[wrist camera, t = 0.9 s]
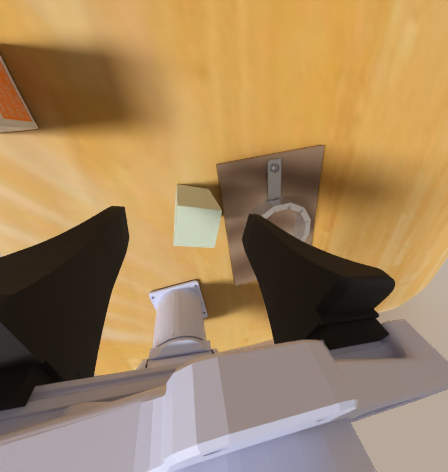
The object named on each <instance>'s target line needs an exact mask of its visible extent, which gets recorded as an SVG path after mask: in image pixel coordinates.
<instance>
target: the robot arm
mask: <svg viewBox="0 0 448 472" xmlns="http://www.w3.org/2000/svg"><path fill="white" fill-rule="evenodd" d="M128 242H129V232H128V225H127V219H126V213H125V207H120V206H111V207H109V208H107V209H105V210H103V211H102V212H100V213H98V214H97V215H95V216H93V217H92V218H90V219H88V220H87V221H85V222H83V223H81V224H79V225H78V226H76V227H74V228H72V229H70V230H68V231H66V232H64V233H62V234H60V235H58V236H56V237H54V238H51V239H49V240H47V241H44V242H42V243H39V244H37V245H34V246H32V247H29V248H26V249H23V250H20V251H18V252H15V253H12V254H9V255H6V256H3V257H0V472H377V471H376V470H375V468H374V466H373V464H372V462H371V460H370V458H369V457H368V455H367V453H366V451H365V449H364V447H363V445H362V444H361V441H360V440H359V438H358V436H357V434H356V432H355V430H354V428H353V427H352V425H351V422H354V421H357V420H360V419H363V418H366V417H369V416H372V415H375V414H378V413H381V412H384V411H387V410H389V409H393V408H395V407H398V406H402V405H405V404H407V403H411V402H414V401H417V400H419V399H422V398H425V397H427V396H430V395H433V394H436V393H438V392H441V391H444V390H447V389H448V361H447V360H445V358H444V357H442V355H441V354H440V353H439V352H438V351H437V350H436V349H434V348H433V347H432V346H431V345H430V344H429V343H428V342H427V341H426V340H425V339H424V338H423V337H422V336H421V335H420V334H419V333H418V332H417V331H416V330H415V329H414V328H413V327H412V326H411V325H410V324H409V323H408V322H407V321H406V320H404V319H401V320H393V321H387V322H384V323H383V324H380V323H379V322H378V321H377V319H376V318H378V317H379V314H378V313H377V312H376V311H375V310H374V308H375V307H376V306H377V305H378V304H380V303H381V302H382V301H383V300H384V299H385V298H386V297H387V296H388V295H389V294H390V293H391V292H392V291H393V289H394V286H395V281H394V279H392V278H391V277H390V276H389V275H388V274H386V273H385V272H384V271H382V270H381V269H378V268H375V267H371V266H367V265H364V264H360V263H356V262H353V261H350V260H347V259H344V258H341V257H338V256H335V255H332V254H330V253H327V252H325V251H323V250H320V249H318V248H316V247H313V246H311V245H309V244H307V243H305V242H303V241H301V240H299V239H298V238H296V237H294V236H292V235H291V234H289V233H287V232H286V231H284V230H283V229H281V228H279V227H278V226H276V225H275V224H273V223H272V222H270V221H269V220H267V219H266V218H264V217H262V216H260V215H258V214H249V216H248V219H247V222H246V226H245V229H244V233H243V236H242V243H243V247H244V250H245V253H246V255H247V258H248V260H249V262H250V265H251V267H252V269H253V271H254V274H255V276H256V278H257V281H258V283H259V286H260V289H261V292H262V296H263V299H264V302H265V306H266V310H267V313H268V317H269V321H270V325H271V330H272V334H273V339H274V344H273V345H267V346H260V347H254V348H248V349H242V350H235V351H229V352H222V353H219V352H218V350H217V349H215V348H214V349H211V346H210V341H207V340H206V333H205V326H204V320H203V318H206V317H207V316H208V314H207V311H206V307H205V304H204V300H203V297H202V293H201V290H200V287H199V283H198V281H197V280H194V281H190V282H186V283H183V284H179V285H175V286H171V287H167V288H164V289H160V290H156V291H152V292H150V293H149V298H150V300H151V302H152V303H153V305H154V307H155V309H156V311H157V312H156V321H155V330H154V340H153V348H152V349H150V354H149V359H144V360H142V362H141V363H140V365H139V366H138V367H137V369H136V370H132V371H126V372H120V373H114V374H108V375H101V376H95V377H94V371H95V366H96V360H97V355H98V350H99V345H100V340H101V335H102V330H103V326H104V321H105V317H106V312H107V308H108V304H109V300H110V296H111V293H112V289H113V286H114V284H115V281H116V278H117V276H118V273H119V271H120V268H121V265H122V263H123V260H124V257H125V254H126V251H127V247H128ZM195 285H196V286H195Z"/></svg>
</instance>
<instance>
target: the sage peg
mask: <svg viewBox="0 0 448 472" xmlns="http://www.w3.org/2000/svg"><path fill="white" fill-rule="evenodd" d="M221 214H222V210H221V208H220V206H219V205H218V203H217V201H216V200H215V198H214V197H213V195H212V193H211V192H210V190H209V189H206V188H200V187H193V186H187V185H180V184H177V189H176V200H175V211H174V245H173V246H190V247H208V248H214V247H215V243H216V238H217V233H218V228H219V224H220V219H221Z"/></svg>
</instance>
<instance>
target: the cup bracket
mask: <svg viewBox="0 0 448 472" xmlns="http://www.w3.org/2000/svg"><path fill="white" fill-rule="evenodd" d="M323 152H324V145H316V146H311V147H305V148H300V149H295V150H289V151H284V152H278V153H273V154H268V155H262V156H257V157H252V158H246V159H241V160H235V161H230V162H225V163H219V164H216V166H217V173H218V179H219V186H220V193H221V199H222V206H223V213H224V219H225V226H226V233H227V239H228V246H229V253H230V259H231V266H232V272H233V279H234V283H235V286H237V285H241V284H245V283H248V282H252V281H255V280H257V278H256V276H255V274H254V271H253V269H252V267H251V265H250V262H249V260H248V258H247V255H246V253H245V250H244V247H243V243H242V236H243V233H244V229H245V226H246V222H247V219H248V216H249V214H258V215H260V216H262V217H264V218H266V219H267V220H269V221H270V222H272V223H273V224H275V225H276V226H278V227H279V228H281V229H283V230H284V231H286V232H287V233H289V234H291V235H292V236H294V237H296V238H298V239H299V240H301V241H303V242H305V243H307V244H309V245H311V243H312V235H313V228H314V220H315V213H316V205H317V198H318V190H319V182H320V175H321V167H322V160H323Z"/></svg>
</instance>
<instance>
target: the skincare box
mask: <svg viewBox="0 0 448 472" xmlns="http://www.w3.org/2000/svg"><path fill="white" fill-rule="evenodd" d="M31 129H38V126H37V124H36V123H35V121H34V119H33V118H32V116H31V114H30V112H29V110H28V108H27V106H26V104H25V102H24V100H23V99H22V97H21V95H20V93H19V91H18V89H17V87H16V85H15V83H14V81H13V79H12V77H11V75H10V73H9V71H8V69H7V67H6V65H5V63H4V61H3V59H2V57H1V55H0V132H12V131H21V130H31Z"/></svg>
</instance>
